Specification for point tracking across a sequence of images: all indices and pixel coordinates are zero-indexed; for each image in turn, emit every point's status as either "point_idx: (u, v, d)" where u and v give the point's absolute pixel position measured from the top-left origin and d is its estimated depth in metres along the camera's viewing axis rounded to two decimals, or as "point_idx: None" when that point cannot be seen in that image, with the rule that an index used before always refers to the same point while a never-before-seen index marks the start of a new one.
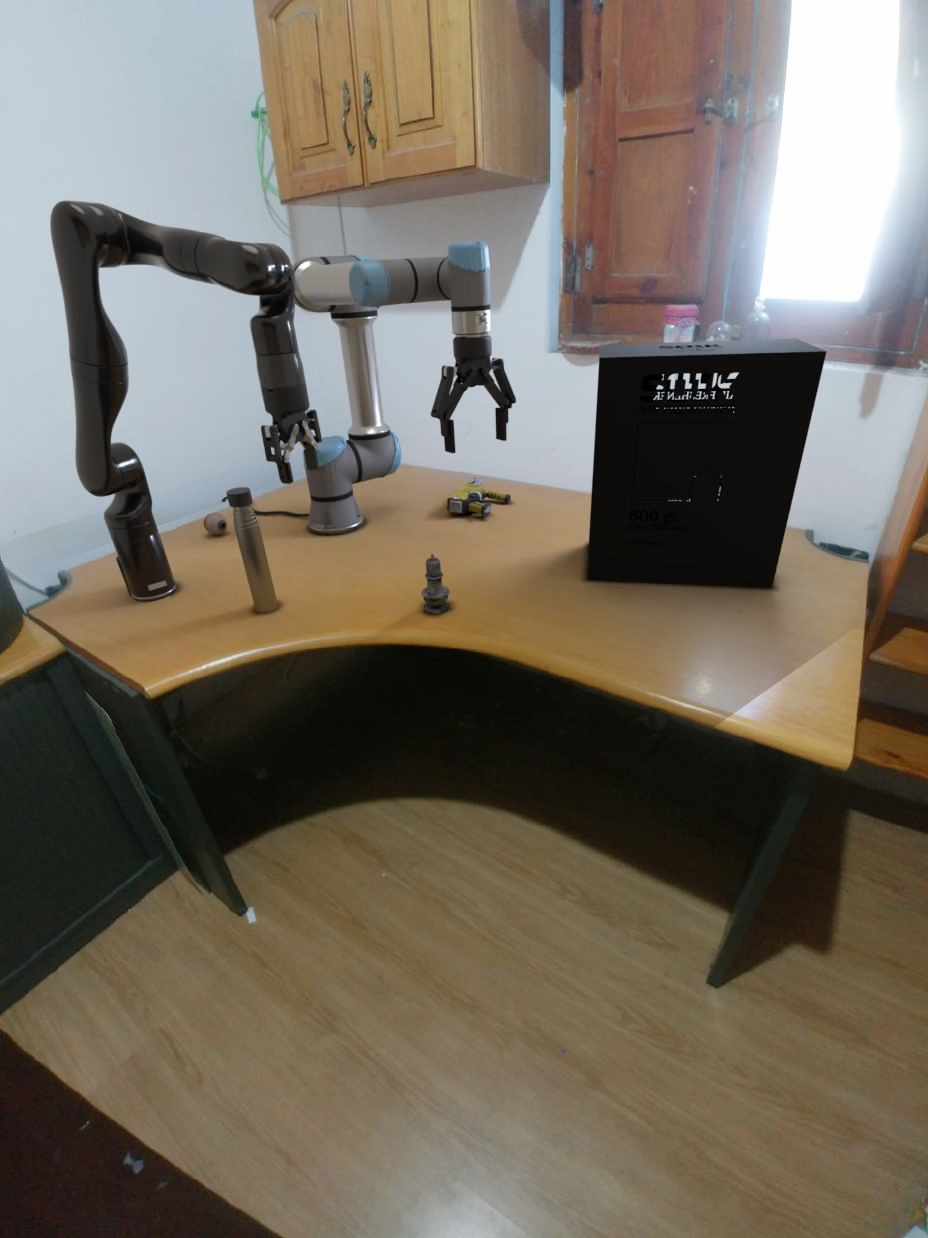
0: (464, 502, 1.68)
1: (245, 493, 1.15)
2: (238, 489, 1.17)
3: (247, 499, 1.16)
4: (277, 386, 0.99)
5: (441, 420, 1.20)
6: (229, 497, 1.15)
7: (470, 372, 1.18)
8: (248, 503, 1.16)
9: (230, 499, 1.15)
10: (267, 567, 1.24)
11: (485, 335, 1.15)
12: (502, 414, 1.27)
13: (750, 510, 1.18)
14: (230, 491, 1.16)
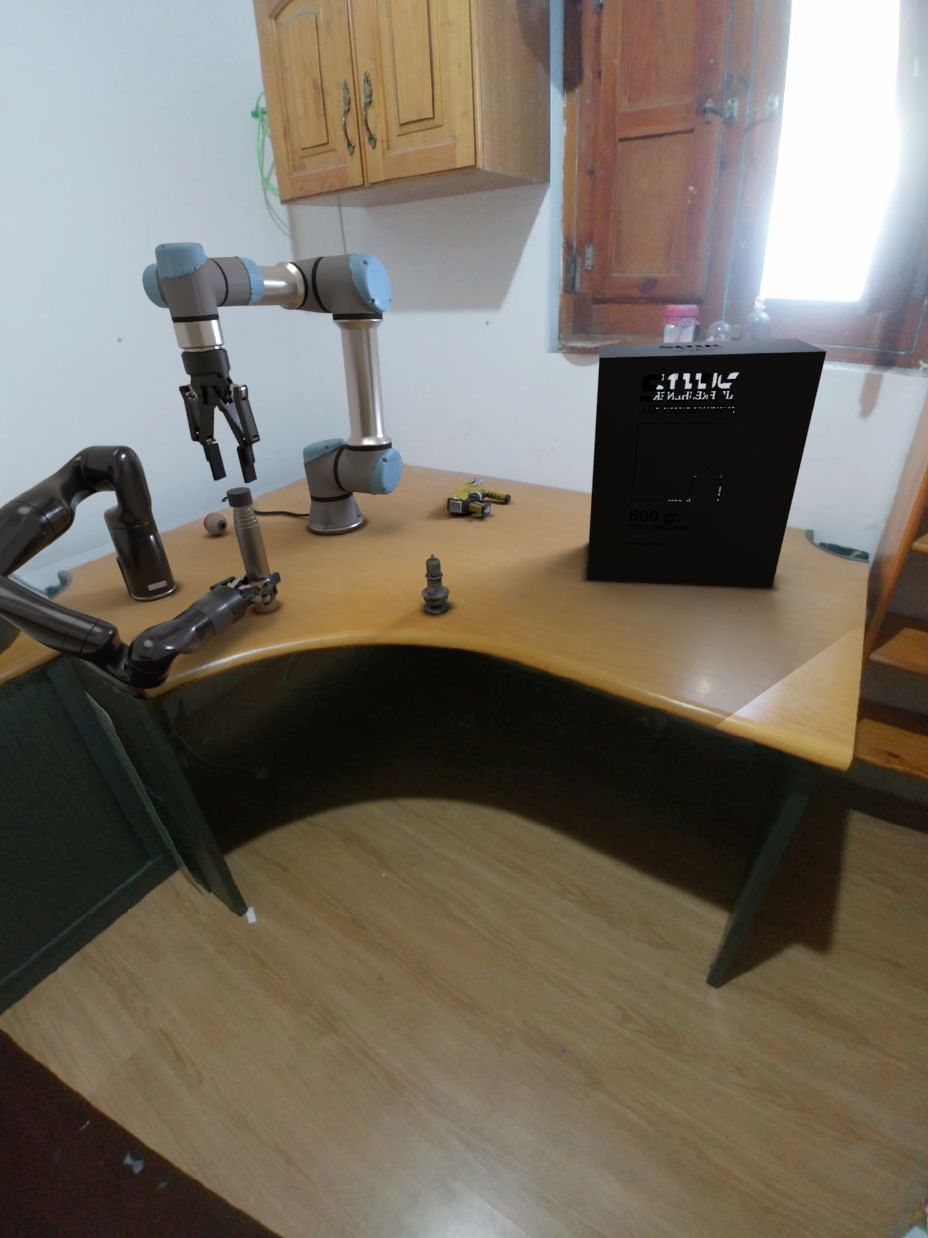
0: (464, 502, 1.68)
1: (245, 493, 1.15)
2: (238, 489, 1.17)
3: (247, 499, 1.16)
4: (229, 608, 1.12)
5: (250, 446, 1.10)
6: (229, 497, 1.15)
7: None
8: (248, 503, 1.16)
9: (230, 499, 1.15)
10: (267, 567, 1.24)
11: None
12: (218, 448, 1.14)
13: (750, 510, 1.18)
14: (230, 491, 1.16)
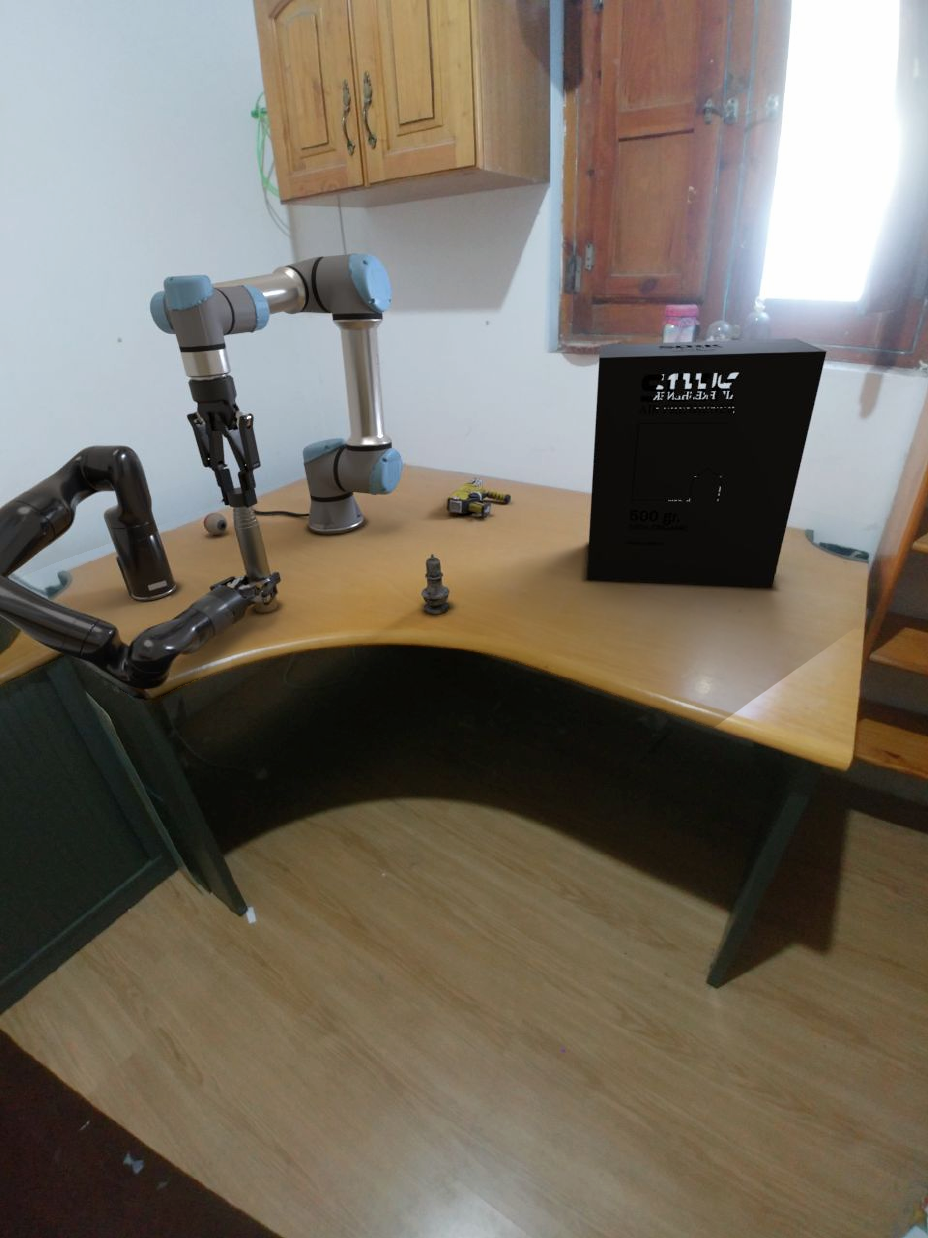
0: (464, 502, 1.68)
1: None
2: (238, 489, 1.17)
3: None
4: (229, 608, 1.12)
5: (251, 472, 1.13)
6: (229, 497, 1.15)
7: None
8: None
9: (230, 499, 1.15)
10: (267, 567, 1.24)
11: None
12: (229, 474, 1.16)
13: (750, 510, 1.18)
14: (230, 491, 1.16)
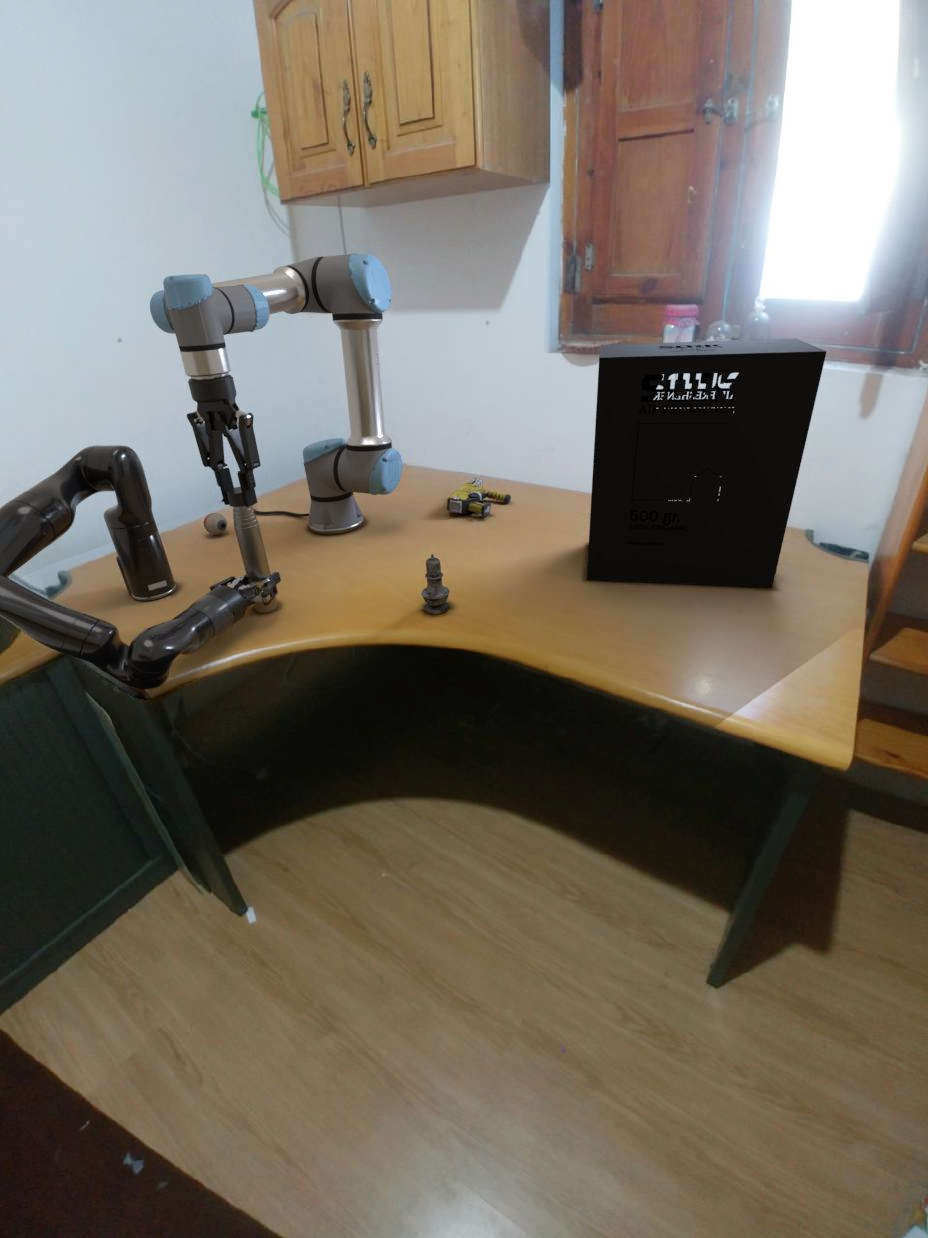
0: (464, 502, 1.68)
1: None
2: (234, 490, 1.16)
3: None
4: (229, 608, 1.12)
5: (250, 471, 1.13)
6: None
7: None
8: None
9: None
10: (267, 567, 1.24)
11: None
12: (229, 473, 1.16)
13: (750, 510, 1.18)
14: (240, 491, 1.15)
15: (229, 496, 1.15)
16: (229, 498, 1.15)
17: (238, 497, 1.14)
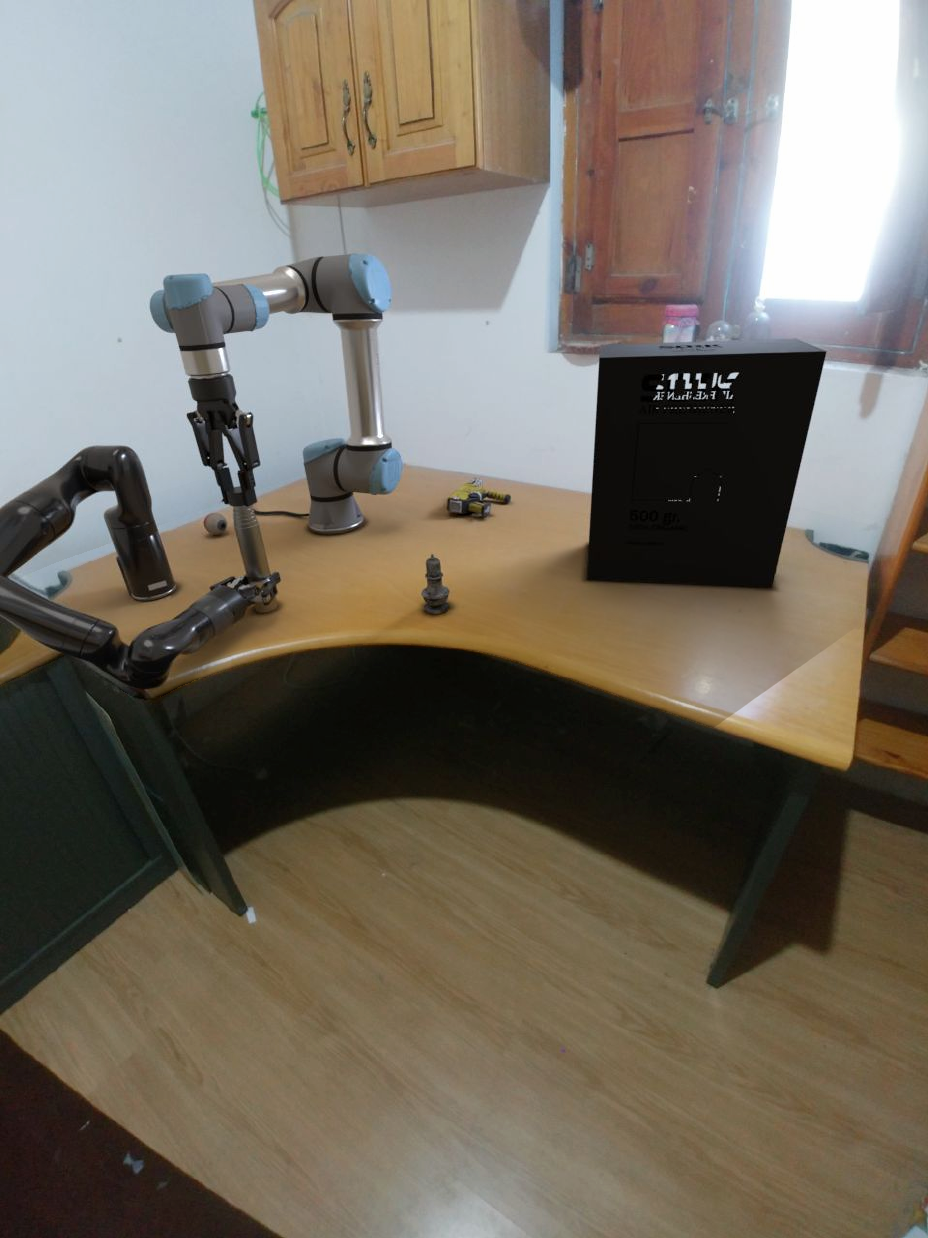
0: (464, 502, 1.68)
1: None
2: (240, 490, 1.15)
3: (228, 498, 1.16)
4: (229, 608, 1.12)
5: (250, 471, 1.13)
6: None
7: None
8: None
9: None
10: (267, 567, 1.24)
11: None
12: (229, 473, 1.16)
13: (750, 510, 1.18)
14: None
15: None
16: None
17: None
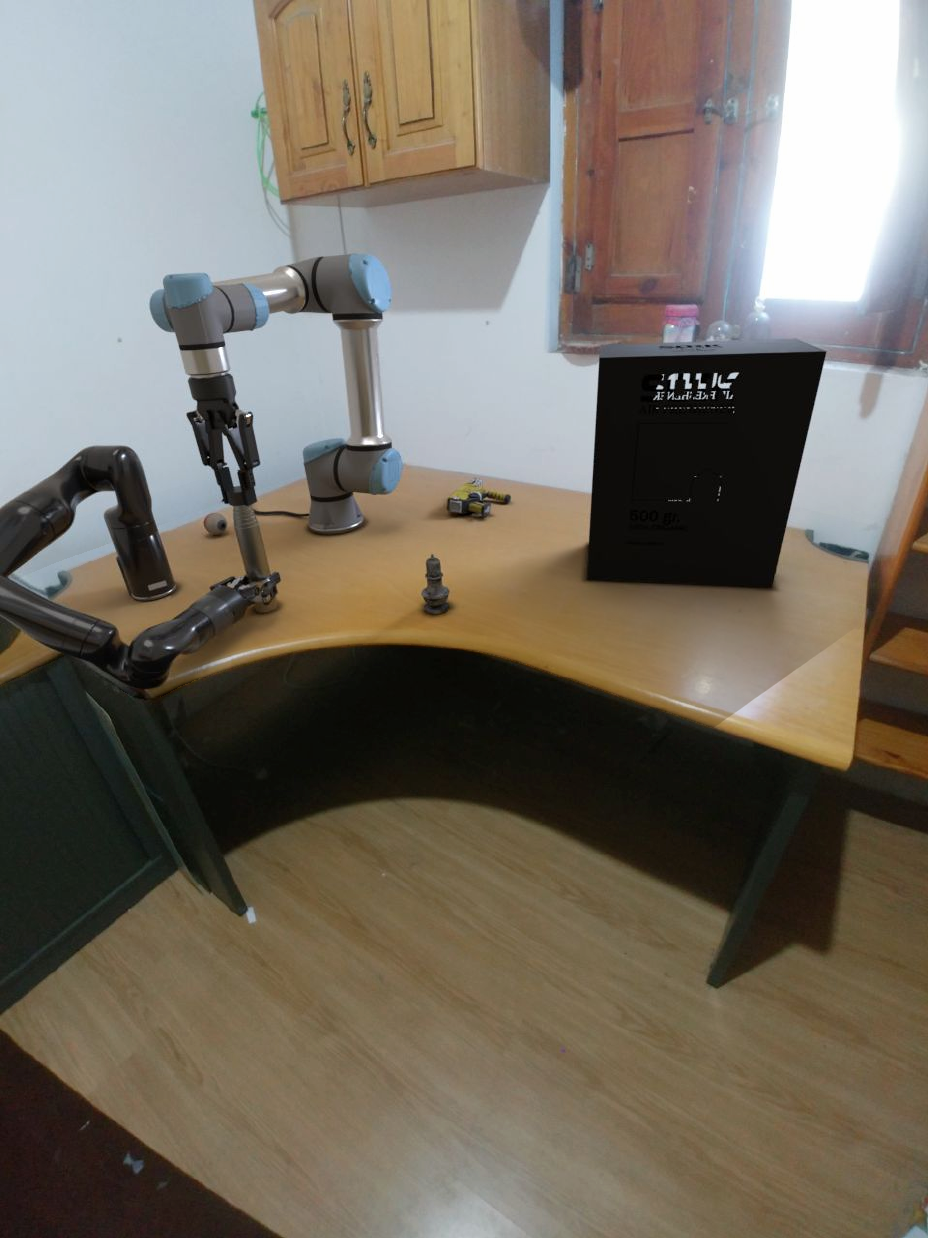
0: (464, 502, 1.68)
1: (240, 493, 1.14)
2: (239, 487, 1.16)
3: (243, 499, 1.15)
4: (229, 608, 1.12)
5: (250, 470, 1.12)
6: None
7: None
8: (243, 503, 1.15)
9: (227, 497, 1.15)
10: (267, 567, 1.24)
11: None
12: (229, 472, 1.16)
13: (750, 510, 1.18)
14: (231, 489, 1.16)
15: None
16: None
17: None
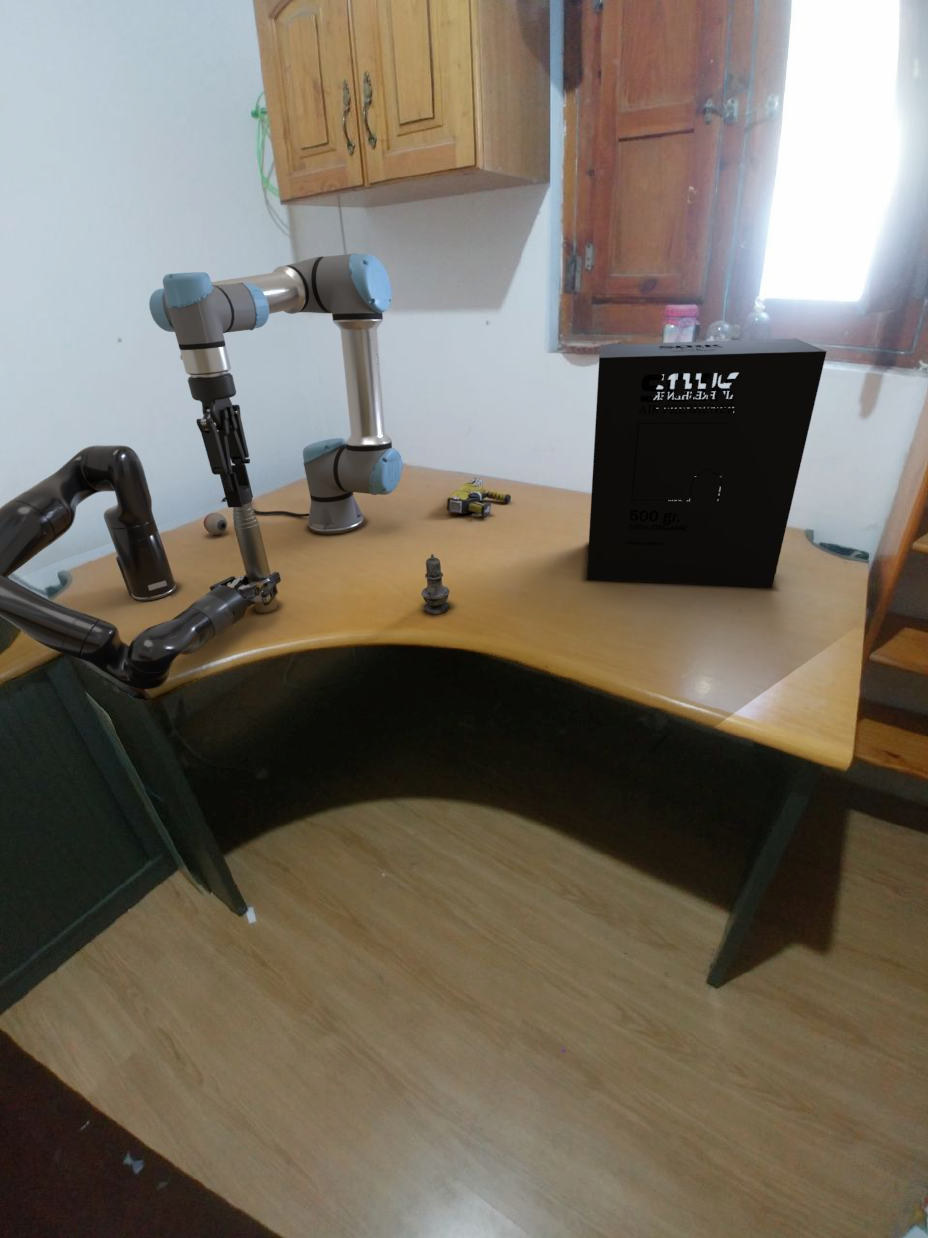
0: (464, 502, 1.68)
1: None
2: None
3: None
4: (229, 608, 1.12)
5: None
6: (244, 494, 1.15)
7: None
8: None
9: (245, 495, 1.15)
10: (267, 567, 1.24)
11: None
12: None
13: (750, 510, 1.18)
14: None
15: None
16: None
17: None
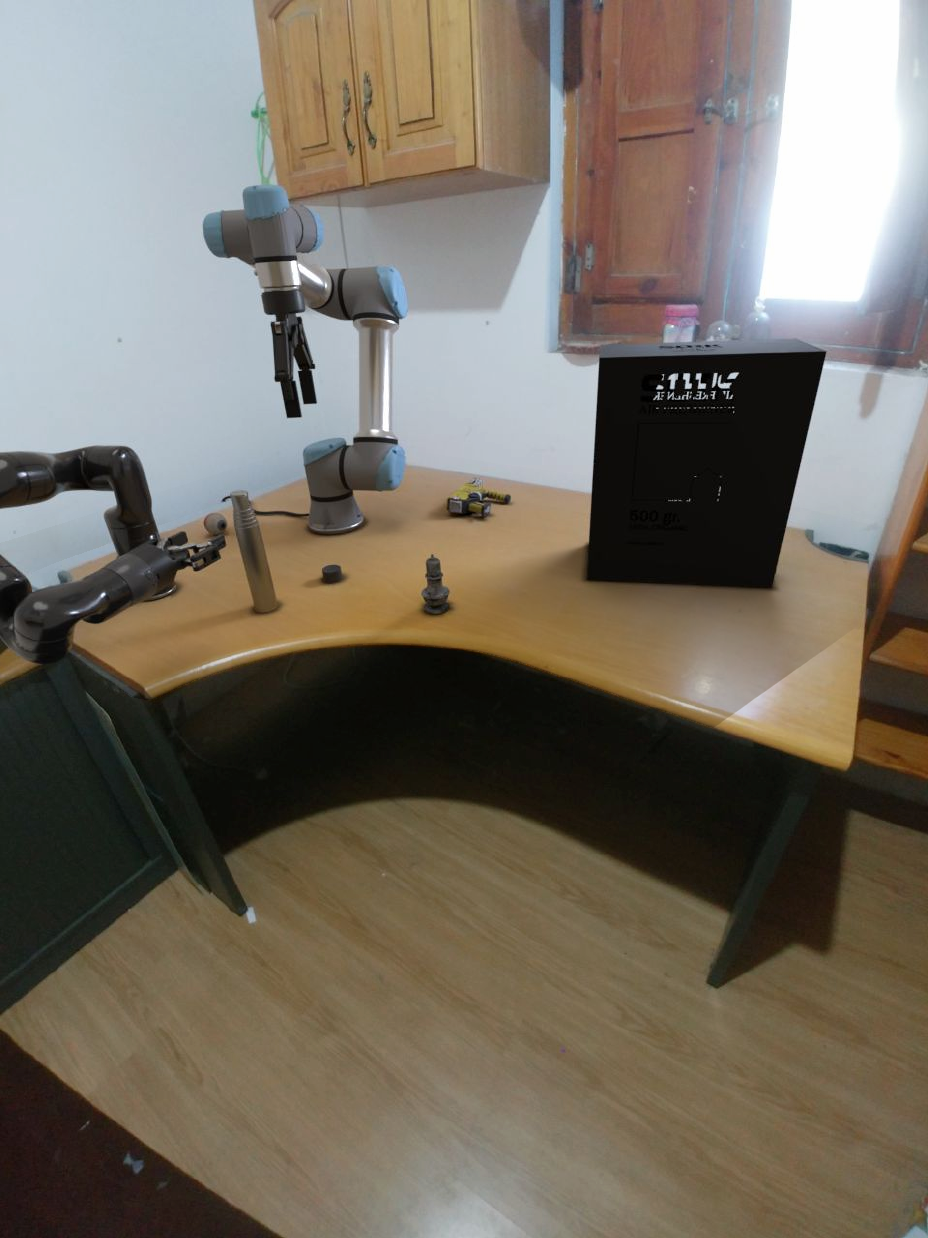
0: (464, 502, 1.68)
1: None
2: (328, 569, 1.38)
3: None
4: (151, 570, 0.94)
5: None
6: (338, 573, 1.37)
7: None
8: None
9: (339, 574, 1.38)
10: (267, 567, 1.24)
11: (264, 290, 1.09)
12: None
13: (750, 510, 1.18)
14: (331, 571, 1.37)
15: (322, 573, 1.37)
16: (322, 574, 1.38)
17: (328, 575, 1.37)
